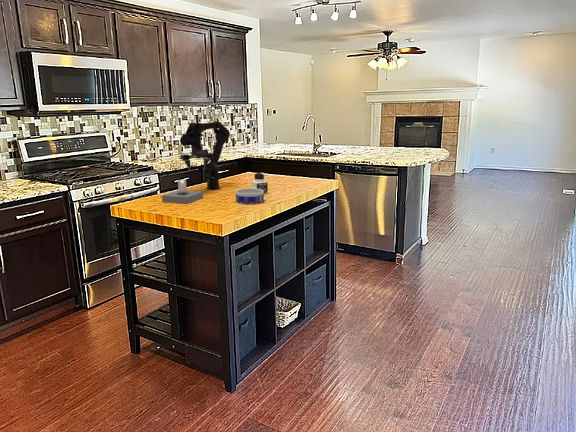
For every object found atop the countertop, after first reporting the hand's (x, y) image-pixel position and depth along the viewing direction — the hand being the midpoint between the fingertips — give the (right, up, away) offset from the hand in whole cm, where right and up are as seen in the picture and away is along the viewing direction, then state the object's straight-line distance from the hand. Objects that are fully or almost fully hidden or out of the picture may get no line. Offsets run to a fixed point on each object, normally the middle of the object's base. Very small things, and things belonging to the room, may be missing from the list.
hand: (197, 170), depth 263 cm
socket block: (-5, -18, -17) cm, 25 cm away
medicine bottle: (+37, -13, +1) cm, 39 cm away
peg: (-5, -18, -17) cm, 25 cm away
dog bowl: (+33, -19, -20) cm, 43 cm away
